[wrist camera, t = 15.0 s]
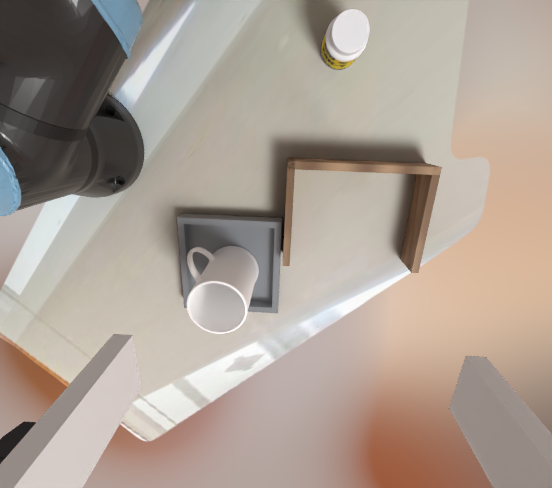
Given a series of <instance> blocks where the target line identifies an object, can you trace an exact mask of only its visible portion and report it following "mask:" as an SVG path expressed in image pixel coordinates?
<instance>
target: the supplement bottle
mask: <svg viewBox="0 0 552 488" xmlns="http://www.w3.org/2000/svg"><path fill="white" fill-rule="evenodd" d="M369 31H370V27H369V22H368V19H367V17H366V16H365V14H364V13H363V12H361V11H360V10H357V9H348V10H345V11H343V12H342V13H340V14H339V15H338V16H336V17H335V18H334V19H333V20H332V21H331V23H330V24H329V26H328V28H327V31H326V34H325V36H324V39H323V42H322V45H321V56H322V59H323V61H324V63H325V64H326V65H327V66H328V67H329V68H331V69H334V70H342V69H345V68H347V67H348V66H350V65H351V64H352V63H353V62H354V61H355V60H356V59H357V58H358V57H359V56H360V54H361V53H362V52H363V50H364V49H365V47H366V44H367V40H368V36H369Z"/></svg>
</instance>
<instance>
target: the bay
mask: <svg viewBox="0 0 552 488" xmlns="http://www.w3.org/2000/svg"><path fill="white" fill-rule="evenodd" d="M441 168H442V167H439V166H435V165H431V164H427V163H407V162H381V161H356V160H331V159H305V158H288V161H287V183H286V205H285V227H284V248H283V266H289V264H290V246H291V227H292V209H293V190H294V172H295V169H303V170H327V171H352V172H376V173H401V174H417V175H416V180H415V185H414V191H413V196H412V201H411V206H410V211H409V216H408V221H407V226H406V232H405V237H404V242H403V247H402V252H401V257H400V259H401V261H402V262H403V263H404V264H405V265H406V267H407V268H408V269H409V270H410V271H411V273H418V271H419V267H420V263H421V258H422V254H423V249H424V245H425V240H426V236H427V231H428V227H429V222H430V218H431V213H432V209H433V204H434V200H435V195H436V191H437V186H438V182H439V177H440V173H441Z"/></svg>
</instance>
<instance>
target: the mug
mask: <svg viewBox="0 0 552 488" xmlns="http://www.w3.org/2000/svg"><path fill="white" fill-rule="evenodd" d="M193 252H200V253H202V254H203V255H205V256H206V257H207V258H208V259H209V263H208V265H207V267H206V268H205V270H204V271H203V273H202V274H201V275H200V274H199V273H198V271H197V269H196V267H195V265H194V262H193V257H192V256H193ZM187 263H188V267H189V270H190V272H191V274H192V276H193V277H194V279H195V281H196V284H195V285H194V287H193V289H192V290H191V292H190V293H189V296H188V298H187V311H188V314H189V316H190V318H191V319H192V321H193V322H194V323H195V324H196V325H197V326H199V327H200V328H202V329H203V330H205V331H208V332H211V333H217V334H223V333H229V332H232V331H234V330H236V329H237V328H239V327H240V326H241V325H242V323H243V322H244V320H245V318H246V316H247V312H248V308H249V304H250V300H251V296H252V292H253V288H254V284H255V282H256V280H257V278H258V274H259V268H258V264H257V261H256V259H255V258H254V256H253V255H252V254H251V253H250V252H248V251H247V250H245V249H243V248H241V247H237V246H226V247H223V248H220V249H218V250H217V251H216V252H214V253H213V254H212V253H210V252H209V251H207V250H206V249H204V248H201V247H195V248H193V249H191V250H190V251H189V253H188V256H187Z"/></svg>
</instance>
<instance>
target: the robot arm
mask: <svg viewBox="0 0 552 488" xmlns="http://www.w3.org/2000/svg"><path fill="white" fill-rule="evenodd" d="M141 25H142V13H141V8H140V6H139V4H138V2H137V0H0V216H6V215H9V214H12V213H14V212H15V211H17V210H20V209H24V208H27V207H30V206H33V205H37V204H40V203H43V202H47V201H50V200H54V199H57V198H60V197H64V196H67V195H70V194H74V195H80V196H87V197H106V196H110V195H113V194H116V193H119V192H121V191H123V190H125V189H127V188H128V187H129V186H131V185H132V184H133V183H134V181H135V180H136V179H137V177H138V176H139V174H140V172H141V169H142V166H143V161H144V145H143V140H142V136H141V133H140V130H139V128H138V126H137V124H136V122H135V120H134V119H133V117H132V116H131V114H130V113H129V112H128V111H127V109H126V108H125V107H124V106H123V105H122V104H120V103H119V102H118V101H117V100H115V99H114V98H113V97H111V96H109V95H107V93H108V91H109V89H110V87H111V85H112V83H113V82H114V80H115V78H116V76H117V74H118V72H119V70H120V68H121V66H122V65H123V63H124V61H125V59H129V58H130V55H131V52H130V50H131V48H132V45H133V43H134V41H135V39H136V37H137V35H138V33H139V31H140V28H141ZM140 389H141V385H140V379H139V372H138V366H137V360H136V354H135V348H134V342H133V335H121V334H113V336H112V337H111V338H110V339H109V340H108V341H107V342H106V344H105V345H104V346H103V347H102V348H101V349H100V350H99V352H98V353H97V354H96V355H95V356H94V357H93V358H92V360H91V361H90V362H89V363H88V364H87V365H86V366H85V368H84V369H83V370H82V371H81V372H80V373H79V374H78V376H77V377H76V378H75V379H74V380H73V381H72V383H71V384H70V385H69V386H68V387H67V388H66V389H65V391H64V392H63V393H62V394H61V395H60V396H59V397H58V399H57V400H56V401H55V402H54V403H53V404H52V405H51V407H50V408H49V409H48V410H47V411H46V412H45V413H44V415H43V416H42V417H41V418H40V419H39V420H38V422H37V423H36V422H23V423H21V424H20V425H19V426H17V427H16V428H15V429H13V430H12V431H10V432H9V433H8V434H6V435H5V436H3V437H2V438H1V439H0V488H82V487H83V486H84V484H85V482H86V481H87V479H88V477H89V476H90V474H91V472H92V470H93V469H94V467H95V465H96V464H97V462H98V460H99V458H100V457H101V455H102V453H103V452H104V450H105V448H106V447H107V444H108V443H109V441H110V440H111V438H112V436H113V434H114V433H115V431H116V429H117V428H118V426H119V424H120V423H121V421H122V419H123V418H124V416H125V414H126V412H127V411H128V409H129V407H130V406H131V404H132V402H133V401H134V399H135V397H136V395H137V394H138V392H139V390H140ZM449 410H450V411H451V413H452V415H453V417H454V419H455V420H456V422H457V424H458V426H459V428H460V429H461V431H462V433H463V435H464V436H465V438H466V440H467V442H468V443H469V445H470V447H471V449H472V451H473V452H474V454H475V456H476V458H477V460H478V461H479V463H480V465H481V467H482V469H483V470H484V472H485V474H486V476H487V478H488V479H489V481H490V483H491V485H492V486H493V488H552V434H551V433H550V432H549V430H548V429H547V428H546V427H545V426H544V425H543V423H542V422H541V421H540V420H539V419H538V418H537V416H536V415H535V414H534V413H533V412H532V411H531V409H530V408H529V407H528V406H527V405H526V404H525V402H524V401H523V400H522V399H521V398H520V396H519V395H518V394H517V393H516V392H515V390H514V389H513V388H512V387H511V386H510V385H509V384H508V382H507V381H506V380H505V379H504V378H503V376H502V375H501V374H500V373H499V372H498V371H497V369H496V368H495V367H494V366H493V365H492V363H491V362H490V361H489V360H488V359H487V358H486V357H479V356H465V360H464V363H463V366H462V369H461V372H460V376H459V379H458V382H457V385H456V388H455V391H454V395H453V397H452V401H451V404H450V407H449Z"/></svg>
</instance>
